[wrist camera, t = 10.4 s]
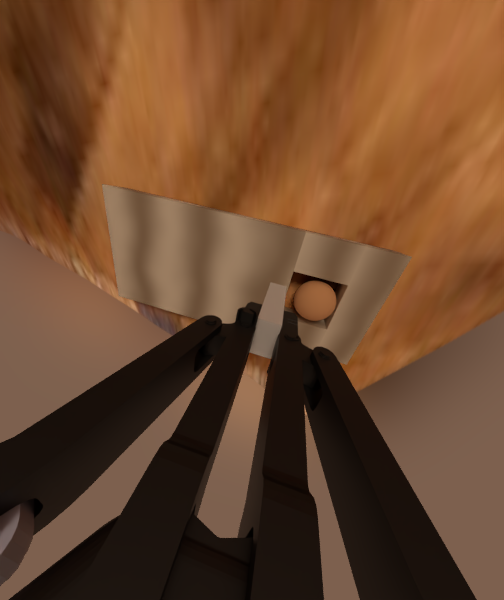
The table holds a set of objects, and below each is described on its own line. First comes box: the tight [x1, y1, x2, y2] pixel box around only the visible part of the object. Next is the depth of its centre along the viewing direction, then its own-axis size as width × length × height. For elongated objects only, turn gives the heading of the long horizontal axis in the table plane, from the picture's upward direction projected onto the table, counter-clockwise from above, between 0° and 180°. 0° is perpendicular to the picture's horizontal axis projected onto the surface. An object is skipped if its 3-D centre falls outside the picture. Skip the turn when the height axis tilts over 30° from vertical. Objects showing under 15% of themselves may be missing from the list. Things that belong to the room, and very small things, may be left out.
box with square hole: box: [102, 184, 412, 364], centre depth 20 cm, size 28×12×2 cm, turn 78°
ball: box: [294, 280, 336, 321], centre depth 18 cm, size 4×4×4 cm
